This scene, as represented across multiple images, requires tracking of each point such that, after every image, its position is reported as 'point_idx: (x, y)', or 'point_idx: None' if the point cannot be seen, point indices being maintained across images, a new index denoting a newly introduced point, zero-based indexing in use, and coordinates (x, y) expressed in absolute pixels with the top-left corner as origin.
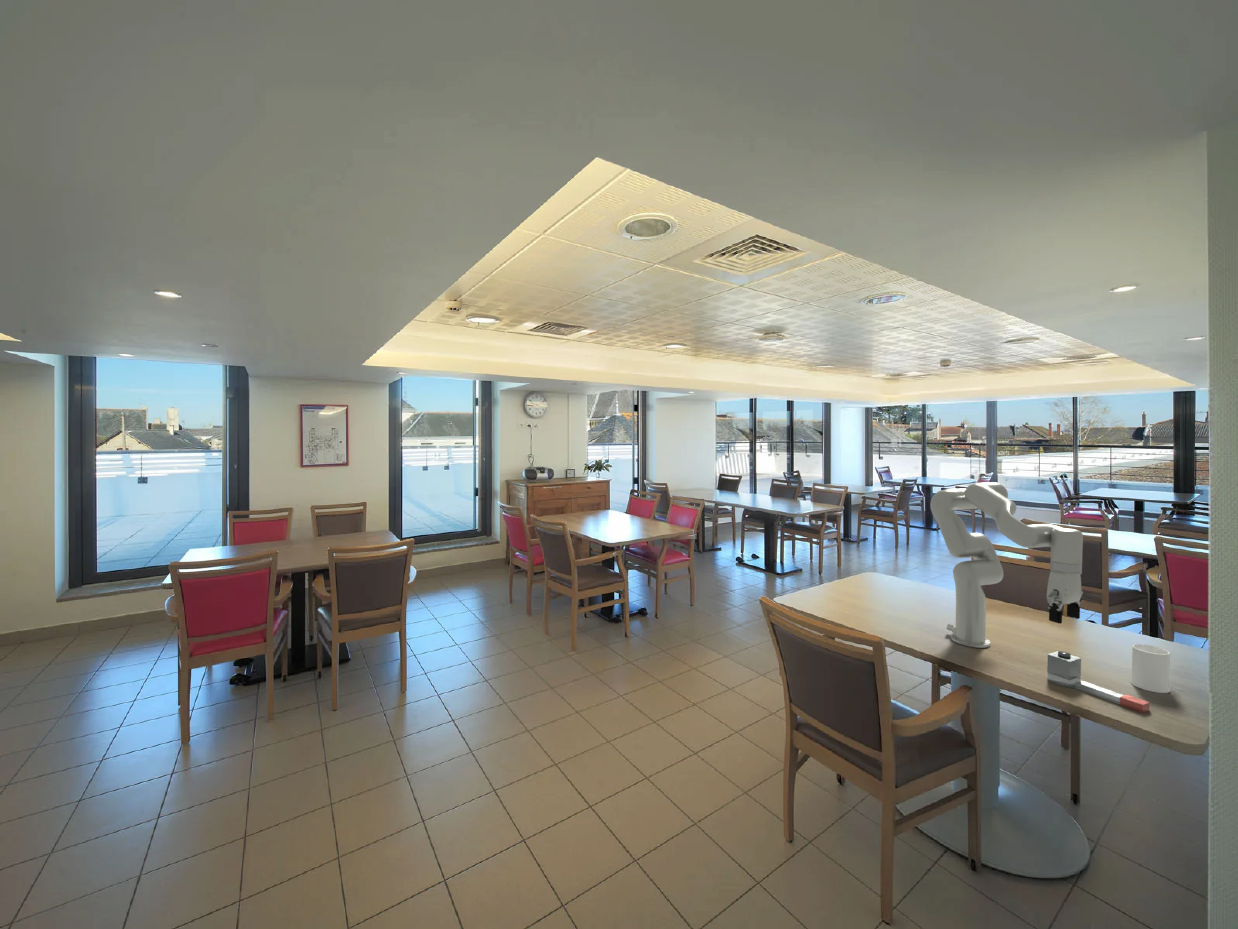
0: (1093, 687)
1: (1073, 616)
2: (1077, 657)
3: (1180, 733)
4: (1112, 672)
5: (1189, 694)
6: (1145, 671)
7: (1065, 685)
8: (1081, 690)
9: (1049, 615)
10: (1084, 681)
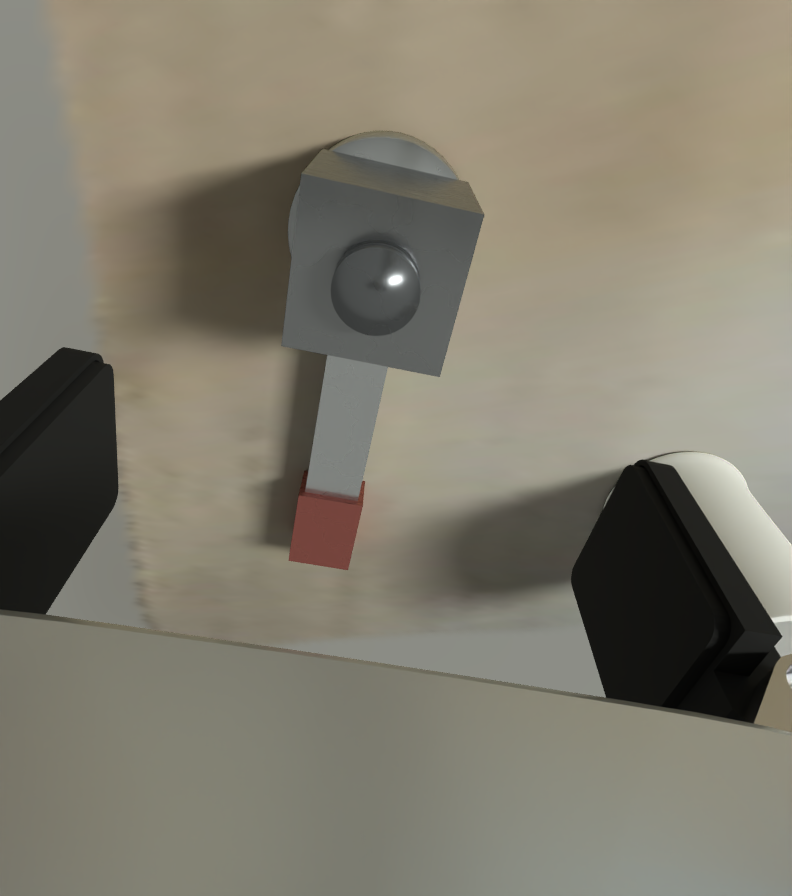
0: (335, 392)
1: (597, 546)
2: (434, 357)
3: (222, 619)
4: (789, 371)
5: None
6: None
7: None
8: None
9: (9, 398)
10: None
